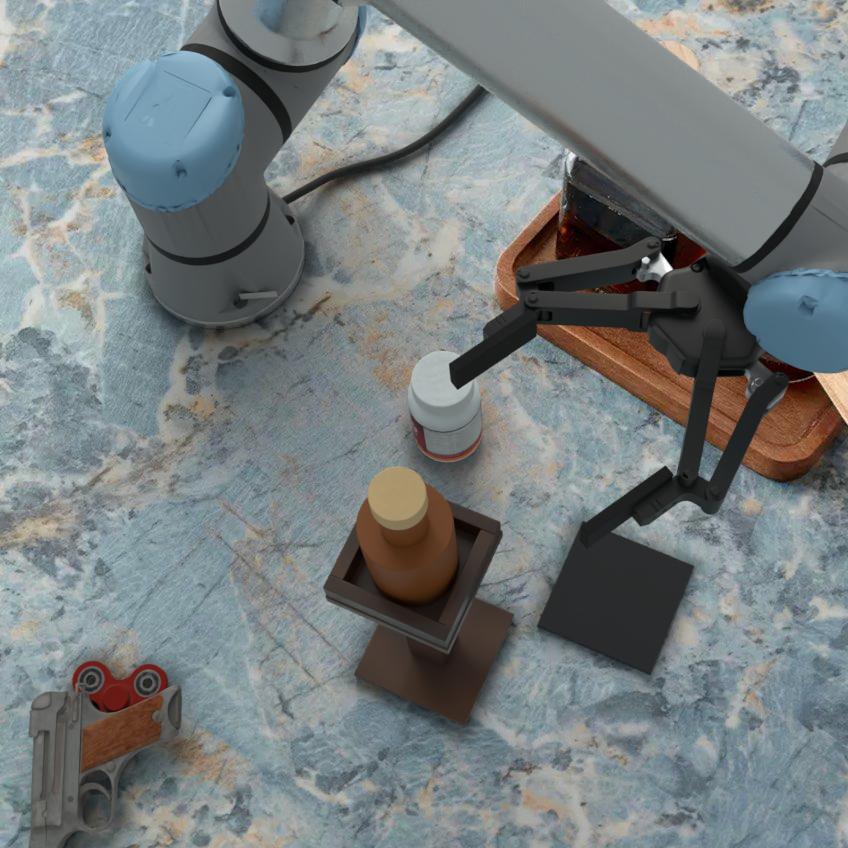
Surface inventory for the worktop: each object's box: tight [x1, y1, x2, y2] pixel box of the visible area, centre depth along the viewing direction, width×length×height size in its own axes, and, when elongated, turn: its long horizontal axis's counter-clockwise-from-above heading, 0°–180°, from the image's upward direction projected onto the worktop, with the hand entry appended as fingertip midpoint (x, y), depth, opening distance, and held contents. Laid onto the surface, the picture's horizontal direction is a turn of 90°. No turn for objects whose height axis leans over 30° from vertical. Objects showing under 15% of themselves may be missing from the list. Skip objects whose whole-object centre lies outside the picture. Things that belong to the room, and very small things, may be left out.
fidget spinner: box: [71, 660, 169, 713], centre depth 108 cm, size 8×7×1 cm
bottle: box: [355, 465, 459, 607], centre depth 81 cm, size 6×6×13 cm
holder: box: [322, 498, 515, 728], centre depth 97 cm, size 10×10×25 cm
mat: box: [536, 520, 695, 676], centre depth 109 cm, size 10×10×1 cm
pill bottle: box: [406, 350, 483, 463], centre depth 111 cm, size 6×6×11 cm
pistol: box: [28, 683, 183, 848], centre depth 104 cm, size 19×2×12 cm
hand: (515, 455), depth 82 cm, fingers open, 13 cm apart
